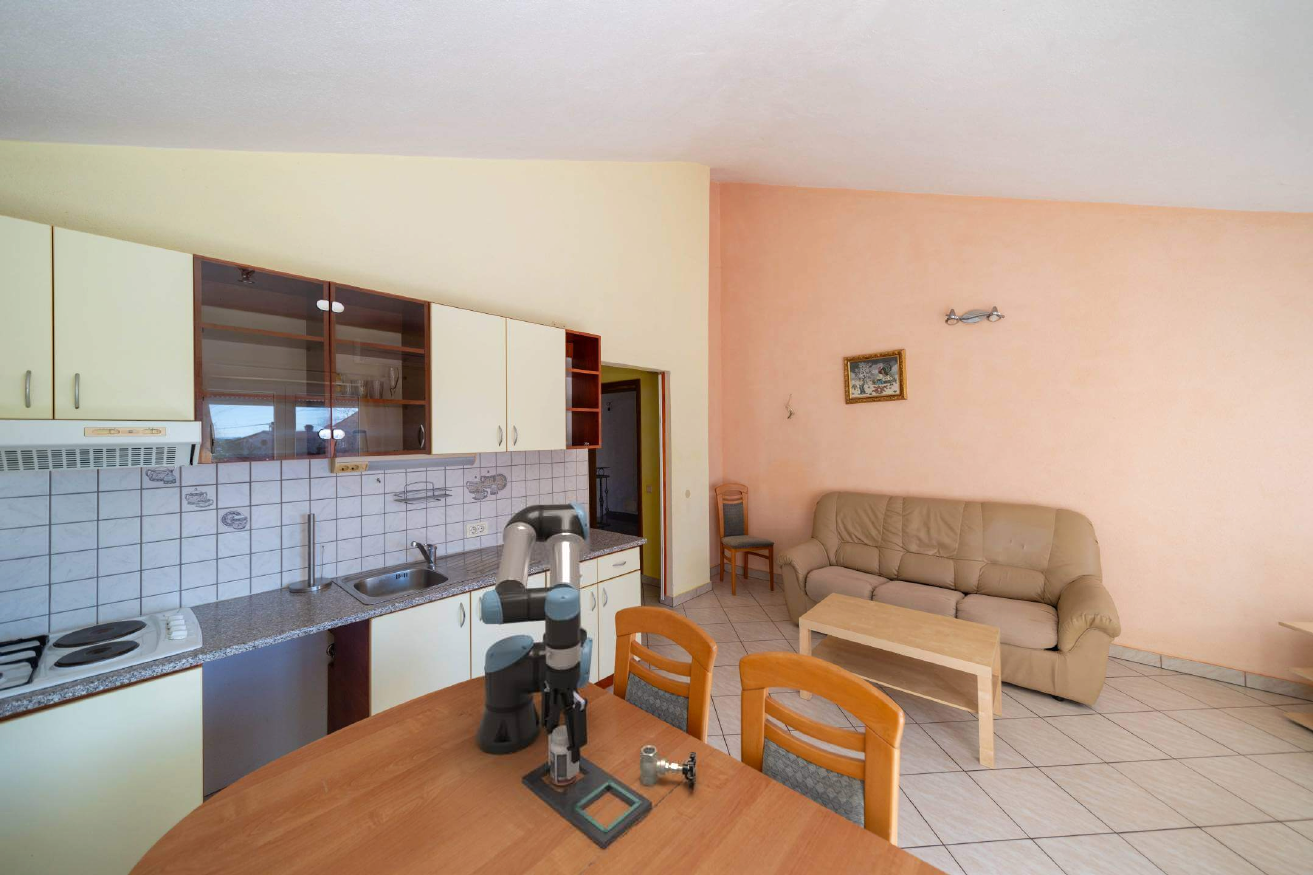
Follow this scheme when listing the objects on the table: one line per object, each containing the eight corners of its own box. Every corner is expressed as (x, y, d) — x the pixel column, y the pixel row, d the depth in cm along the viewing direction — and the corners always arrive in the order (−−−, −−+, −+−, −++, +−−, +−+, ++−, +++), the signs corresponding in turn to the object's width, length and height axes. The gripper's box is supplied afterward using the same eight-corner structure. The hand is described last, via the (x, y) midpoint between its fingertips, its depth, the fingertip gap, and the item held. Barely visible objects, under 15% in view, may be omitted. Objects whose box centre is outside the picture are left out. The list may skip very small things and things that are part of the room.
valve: (636, 790, 101) (693, 797, 98) (636, 758, 101) (692, 764, 99) (642, 769, 107) (696, 775, 105) (642, 739, 107) (696, 745, 105)
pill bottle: (581, 771, 106) (581, 726, 106) (568, 789, 100) (568, 741, 100) (558, 765, 108) (558, 721, 108) (545, 782, 102) (544, 736, 102)
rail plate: (521, 782, 103) (521, 776, 103) (569, 752, 113) (569, 746, 113) (603, 849, 86) (603, 841, 86) (652, 807, 95) (651, 800, 96)
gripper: (523, 655, 108) (524, 758, 107) (577, 682, 95) (577, 799, 95) (551, 644, 113) (551, 742, 113) (604, 669, 101) (605, 779, 101)
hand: (563, 768), depth 104 cm, fingers closed on pill bottle, 6 cm apart
